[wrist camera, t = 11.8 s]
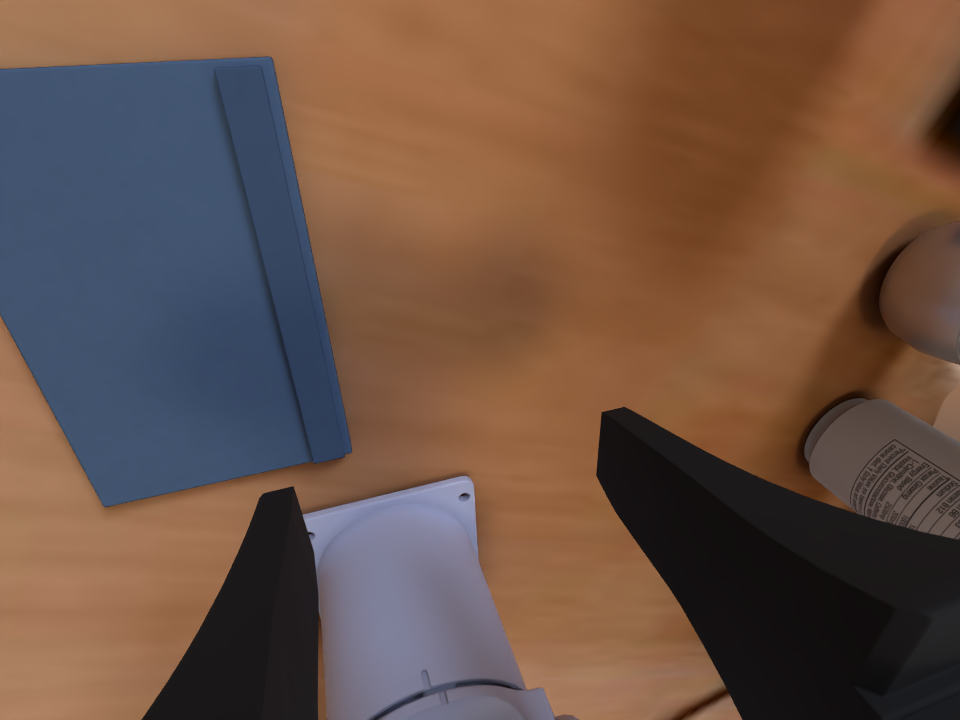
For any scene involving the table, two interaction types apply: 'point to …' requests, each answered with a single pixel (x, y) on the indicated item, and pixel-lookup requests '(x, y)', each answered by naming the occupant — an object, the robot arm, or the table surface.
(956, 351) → the plastic bottle
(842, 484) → the energy drink can
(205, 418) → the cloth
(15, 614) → the table surface
